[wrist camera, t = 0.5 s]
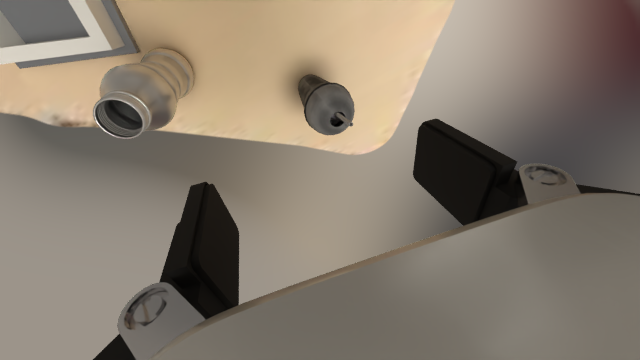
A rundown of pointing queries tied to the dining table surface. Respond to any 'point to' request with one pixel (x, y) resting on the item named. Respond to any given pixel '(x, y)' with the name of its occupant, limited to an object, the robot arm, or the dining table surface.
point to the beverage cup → (326, 105)
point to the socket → (61, 31)
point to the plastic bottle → (142, 94)
